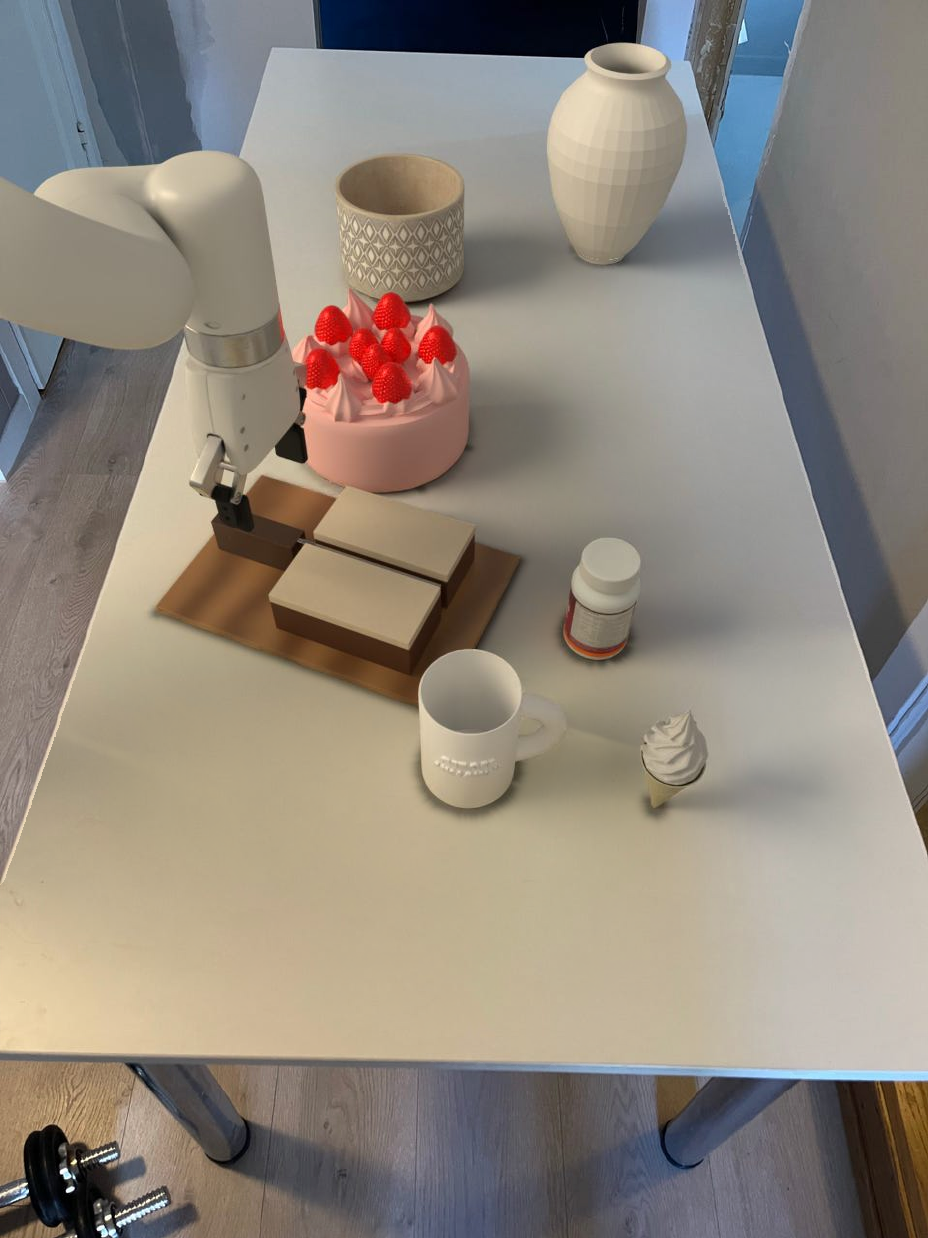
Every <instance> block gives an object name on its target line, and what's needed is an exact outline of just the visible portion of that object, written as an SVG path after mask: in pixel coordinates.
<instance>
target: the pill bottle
mask: <svg viewBox="0 0 928 1238" xmlns="http://www.w3.org/2000/svg"><path fill="white" fill-rule="evenodd" d="M641 567H642V558H641V555H640V553H639V552H638V549H636V548H635V547H634V546H633V545H632V544H630V543H629V542H628V541H626V540H623V539H620V538H617V537H600V538H596V539H594V540H592V541H590V542H589V543H587V545H586V546H585V547H584V549H583V551H582V553H581V558H580V563H579V564H578V565H577V567H576V568H575V569H574V571H573V573H572V577H571V581H570V586H569V587H570V589H569V594H568V600H567V606H566V611H565V616H564V617H565V618H564V624H563V637H564V640H565V642H566V644H567V645H568V647H569V648H570V649H571V651H573V652H574V653H575V654H577V655H578V656H580V657H583V658H586V659H589V660H594V661H603V660H608V659H610V658H613V657H615V656H617V655H619V653H620V652H622V650H623V649H624V647H625V646H626V644H627V641H628V638H629V634H630V629H631V626H632V622H633V618H634V615H635V611H636V607H637V605H638V604H637V603H638V601H639V597H640V593H641V579H640V577H639V576H640V570H641Z"/></svg>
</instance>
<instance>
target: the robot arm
mask: <svg viewBox="0 0 928 1238" xmlns="http://www.w3.org/2000/svg"><path fill="white" fill-rule="evenodd" d="M263 192H264V191H263V186H262V183H261V180H260V177H259V175H258V174H257V172H256V170H255V169H254V168H253V166H252V165H250V164H249V163H248V162H247V161H246V160H245V159H243V158H241V157H239V156H237V155H236V154H235V155H234V154H232V153H229V152H225V151H220V150H194V151H190V152H185V153H181V154H177V155H175V156H172V157H171V158H170V157H169V159H167V160H165V161H163V162H161V163H156V164H145V165H143V164H142V165H126V166H94V167H81V168H74V169H70V170H65V171H62V172H59V173H57V174H55V175H53V176H50V177H49V178H46V180H44V181H43V182H42V183H41V184H40V185H39V186H38V187H37V188H36V189H35V191H34V192H33V193H31V192H29V191H28V190H26V189H24V188H22V187H21V186H18V185H16V183H13V182H11V181H10V180H9V179H8V180H7V179H6V178H5V177H3V176H1V175H0V319H2V320H5V321H7V322H10V323H13V324H16V325H18V326H21V327H24V328H27V329H31V330H33V331H37V332H40V333H45V334H49V335H52V336H56V337H60V338H64V339H66V340H67V339H68V340H71V341H75V342H79V343H83V344H88V345H91V346H96V347H100V348H105V349H111V350H120V351H121V350H122V351H123V350H124V351H137V350H138V351H139V350H147V349H151V348H154V347H158V346H160V345H162V344H164V343H166V342H169V341H170V340H171V339H173V338H175V337H176V336H177V335H178V334H179V333H180V332H181V331H182V333H183V337H184V341H185V343H186V344H185V345H186V350H187V353H188V356H189V357H188V359H187V360H186V361H185V364H184V382H185V385H184V386H185V396H186V405H187V406H186V407H187V413H188V418H189V424H190V430H191V434H192V439H193V443H194V447H195V452H196V454H197V458H198V459H197V461H196V464H195V466H194V469H193V471H192V472H191V475H190V477H189V480H188V484H189V487H191V488H192V489H193V490H194V491H195V492H197V493H198V495H199V496H201V497H204V498H208V499H209V500H213V501H214V503H215V506H216V510H217V514H219V518H220V521H221V522H222V523H223V524H225V525H227V526H229V527H232V528H238V529H241V530H244V531H247V532H251V531H252V530H253V529H254V521H253V516H252V512H251V507H250V503H249V499H248V497H247V496H246V494H244V491H245V486H246V482H247V476H248V474H249V473H251V472H253V471H255V469H256V468H258V466H259V465H260V464H261V463H262V462H263V461H264V460H265V458H267V456H268V455H269V454H270V453H271V451H272V450H273V449H274V452H275V455H276V456H277V457H279V458H282V459H284V460H288V461H291V462H293V463H294V462H295V463H298V464H301V465H303V464H306V463H307V462H306V461H307V460H308V454H307V447H306V440H305V433H304V428H302V427H301V426H303V425H304V423H305V421H306V414H305V413H303V412H302V411H303V407H304V403H305V399H306V398H307V390H306V389H305V388H304V386H306V379H307V371H308V366H307V365H306V364H302V363H299V362H295V361H293V357H292V351H291V346H290V343H289V340H288V337H287V334H286V332H285V329H284V324H283V323H284V322H283V316H282V309H281V304H280V298H279V291H278V284H277V277H276V271H275V270H276V269H275V264H274V257H273V250H272V245H271V244H272V243H271V238H270V231H269V224H268V217H267V210H266V204H265V197H264V193H263ZM226 457H227V458H228V460H226V459H225V458H226ZM225 470H226V471H229V472H231V473H234V474H233V479H232V483H231V486H229V485H227V484H224V483H222V480H223V476H224V471H225Z"/></svg>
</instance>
